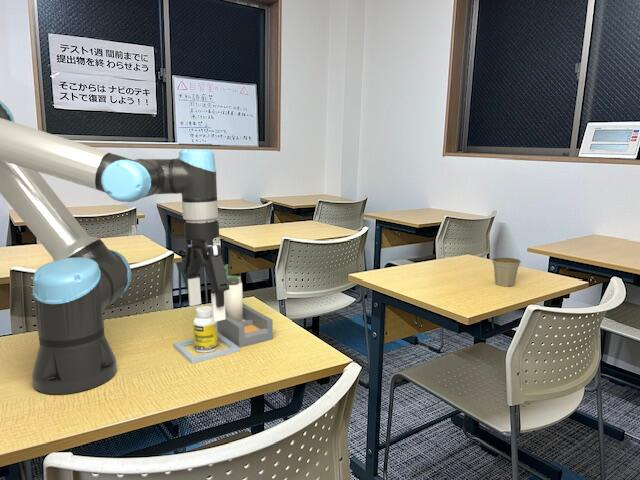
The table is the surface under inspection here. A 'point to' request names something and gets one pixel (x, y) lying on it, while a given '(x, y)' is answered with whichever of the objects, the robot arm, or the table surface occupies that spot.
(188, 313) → the table surface
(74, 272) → the robot arm
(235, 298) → the white thermos bottle
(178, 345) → the grey square frame
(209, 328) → the supplement bottle
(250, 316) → the grey cubby shelf
